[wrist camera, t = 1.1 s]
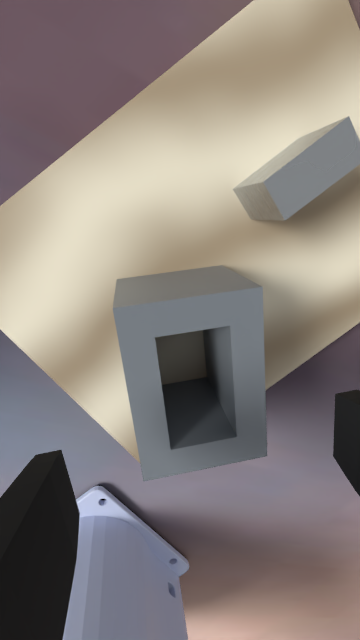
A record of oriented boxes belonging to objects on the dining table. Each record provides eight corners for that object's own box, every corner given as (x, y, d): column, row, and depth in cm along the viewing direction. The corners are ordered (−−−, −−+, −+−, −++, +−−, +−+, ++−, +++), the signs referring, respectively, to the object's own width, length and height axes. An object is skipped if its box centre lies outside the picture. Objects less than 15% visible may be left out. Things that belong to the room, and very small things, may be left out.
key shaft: (314, 170, 15) (367, 158, 12) (250, 219, 15) (285, 220, 12) (298, 138, 15) (349, 115, 11) (232, 189, 15) (263, 182, 11)
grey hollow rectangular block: (221, 265, 16) (262, 286, 11) (230, 392, 18) (267, 456, 13) (116, 279, 15) (112, 308, 10) (138, 409, 17) (143, 481, 13)
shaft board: (431, 256, 18) (448, 258, 18) (149, 460, 20) (150, 473, 19) (311, -39, 14) (325, -58, 13) (-57, 259, 15) (-70, 262, 14)
